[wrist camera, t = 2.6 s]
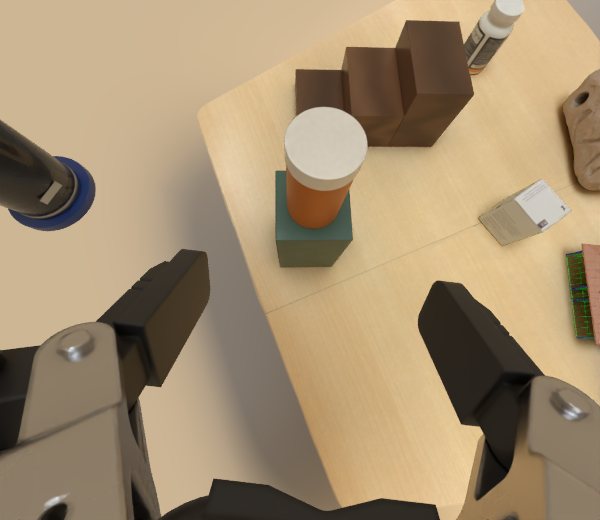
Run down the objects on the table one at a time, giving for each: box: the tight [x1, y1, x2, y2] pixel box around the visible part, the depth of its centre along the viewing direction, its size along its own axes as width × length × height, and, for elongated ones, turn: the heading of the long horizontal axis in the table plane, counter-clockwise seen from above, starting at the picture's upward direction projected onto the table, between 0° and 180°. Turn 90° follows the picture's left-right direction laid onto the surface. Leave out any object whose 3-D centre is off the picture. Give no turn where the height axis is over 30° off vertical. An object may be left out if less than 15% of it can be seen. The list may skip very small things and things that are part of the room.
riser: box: [295, 20, 474, 147], centre depth 42 cm, size 24×13×11 cm, turn 91°
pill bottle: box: [464, 0, 524, 74], centre depth 46 cm, size 6×6×10 cm
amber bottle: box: [284, 107, 367, 229], centre depth 23 cm, size 6×6×10 cm
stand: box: [276, 171, 353, 267], centre depth 35 cm, size 8×8×14 cm
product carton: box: [479, 179, 571, 246], centre depth 40 cm, size 6×6×7 cm
